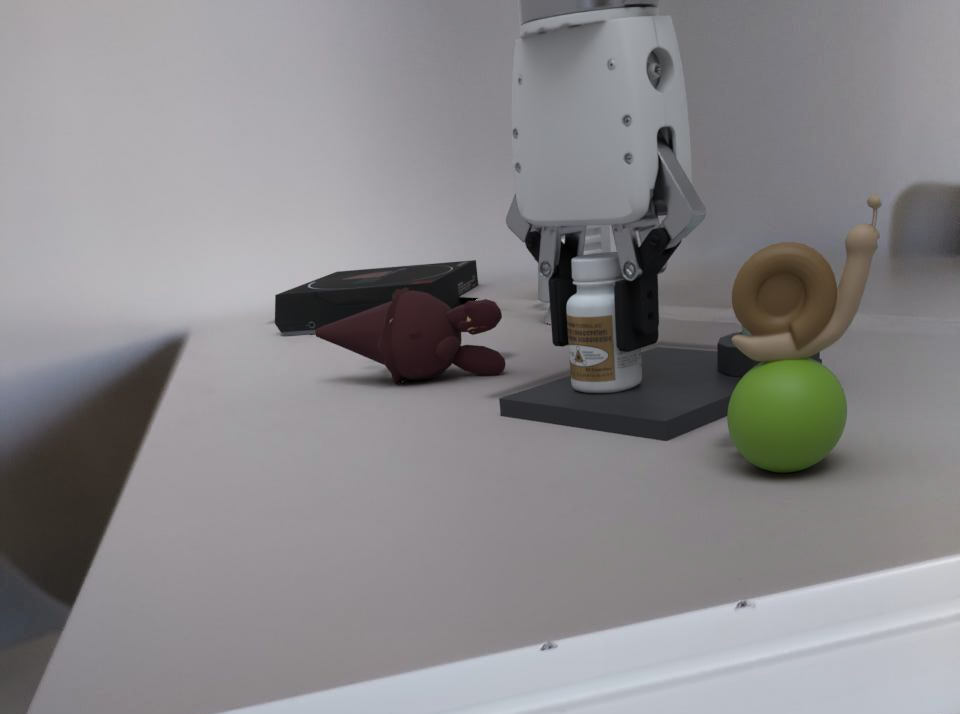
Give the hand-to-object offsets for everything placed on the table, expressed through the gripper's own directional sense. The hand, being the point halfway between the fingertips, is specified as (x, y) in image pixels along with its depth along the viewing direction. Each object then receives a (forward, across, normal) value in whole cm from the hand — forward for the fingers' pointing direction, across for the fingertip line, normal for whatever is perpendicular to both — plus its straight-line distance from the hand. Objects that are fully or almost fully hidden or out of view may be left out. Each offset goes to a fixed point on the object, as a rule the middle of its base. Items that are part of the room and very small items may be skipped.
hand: (604, 341), depth 63 cm
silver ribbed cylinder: (+4, +24, -24) cm, 34 cm away
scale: (+4, -2, -3) cm, 5 cm away
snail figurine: (+4, -17, +6) cm, 19 cm away
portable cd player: (+4, +48, -20) cm, 52 cm away
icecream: (+4, +19, 0) cm, 19 cm away
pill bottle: (+3, 0, 0) cm, 3 cm away
